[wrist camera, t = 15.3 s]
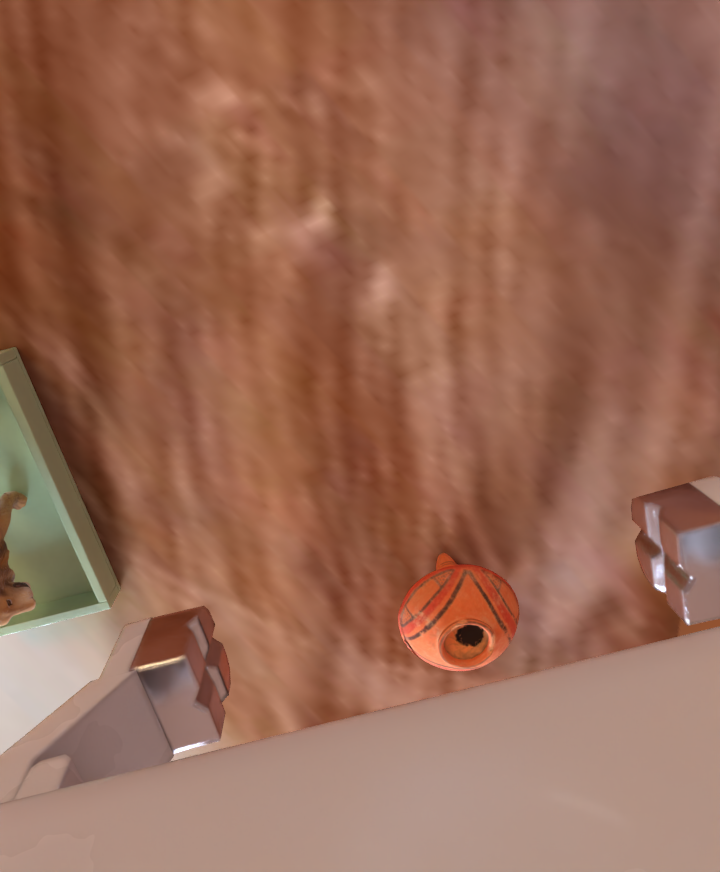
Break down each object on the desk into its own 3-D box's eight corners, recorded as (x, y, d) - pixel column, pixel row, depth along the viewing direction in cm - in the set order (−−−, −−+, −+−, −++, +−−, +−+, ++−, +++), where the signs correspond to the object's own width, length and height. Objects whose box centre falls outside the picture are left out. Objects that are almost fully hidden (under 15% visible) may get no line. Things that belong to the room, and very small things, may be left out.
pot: (522, 542, 45) (550, 619, 39) (485, 619, 49) (505, 699, 44) (409, 525, 44) (421, 602, 38) (381, 606, 48) (388, 687, 42)
